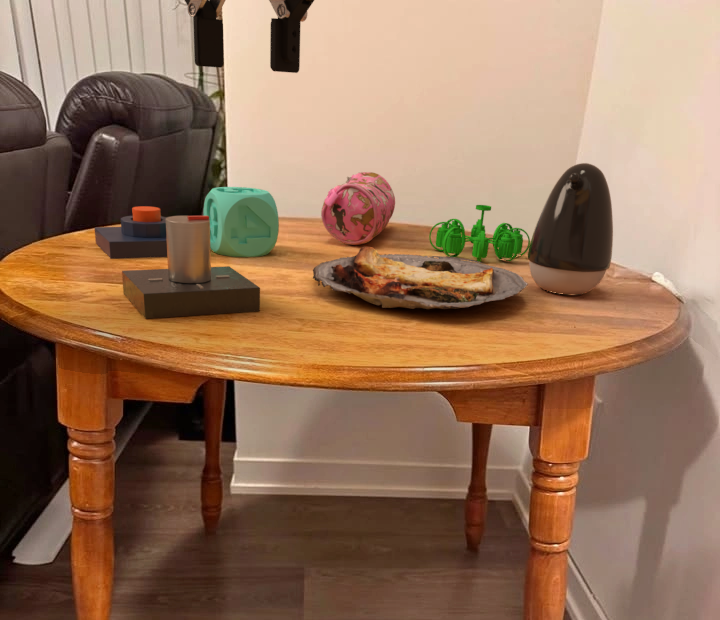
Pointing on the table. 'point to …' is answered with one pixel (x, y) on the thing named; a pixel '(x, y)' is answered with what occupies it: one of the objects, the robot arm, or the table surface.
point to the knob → (188, 249)
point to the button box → (133, 239)
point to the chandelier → (479, 238)
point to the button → (146, 214)
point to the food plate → (418, 280)
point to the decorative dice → (241, 221)
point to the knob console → (190, 293)
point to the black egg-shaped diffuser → (573, 233)
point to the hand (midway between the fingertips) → (245, 69)
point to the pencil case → (358, 208)
